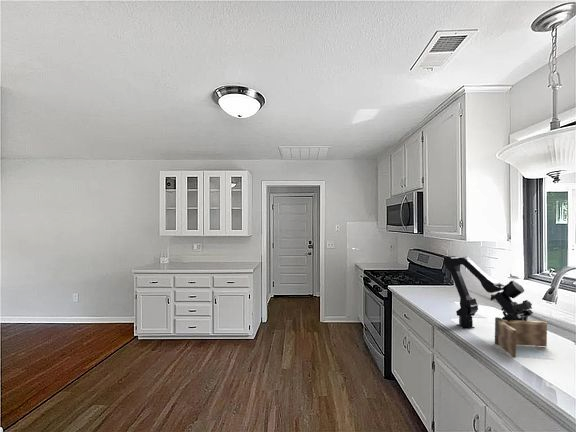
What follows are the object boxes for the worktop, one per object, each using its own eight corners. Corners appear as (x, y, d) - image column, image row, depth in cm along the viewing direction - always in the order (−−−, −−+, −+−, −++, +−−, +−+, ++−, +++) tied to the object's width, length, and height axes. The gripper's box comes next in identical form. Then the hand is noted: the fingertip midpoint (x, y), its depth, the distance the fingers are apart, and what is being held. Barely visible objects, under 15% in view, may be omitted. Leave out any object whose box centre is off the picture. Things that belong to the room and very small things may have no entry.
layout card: (491, 342, 163) (491, 342, 163) (530, 345, 161) (530, 344, 161) (508, 356, 146) (508, 356, 146) (552, 360, 144) (552, 359, 144)
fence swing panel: (502, 343, 160) (502, 320, 160) (500, 342, 161) (500, 319, 162) (546, 346, 157) (547, 322, 157) (545, 345, 159) (545, 321, 159)
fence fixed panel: (493, 342, 162) (494, 317, 162) (499, 343, 162) (499, 317, 162) (511, 356, 146) (511, 328, 146) (517, 357, 145) (517, 328, 146)
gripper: (509, 296, 159) (535, 327, 150) (529, 292, 169) (554, 321, 160) (491, 308, 166) (515, 339, 157) (511, 304, 176) (534, 333, 167)
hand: (530, 333), depth 160 cm, fingers closed
